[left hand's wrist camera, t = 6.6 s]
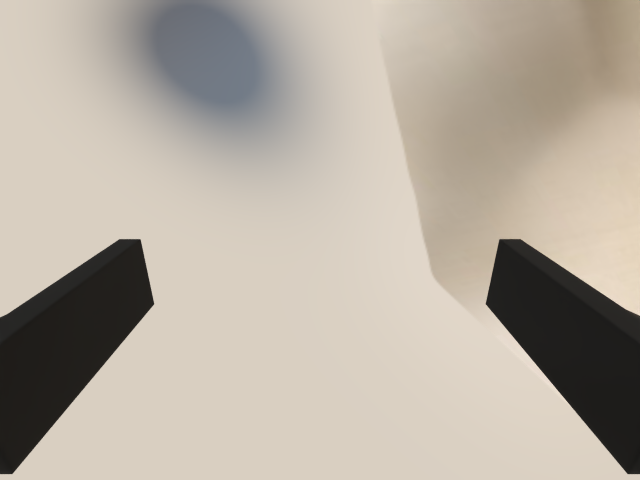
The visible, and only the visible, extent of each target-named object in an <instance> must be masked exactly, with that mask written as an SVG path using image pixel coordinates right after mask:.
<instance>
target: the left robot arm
mask: <svg viewBox="0 0 640 480" xmlns="http://www.w3.org/2000/svg"><path fill="white" fill-rule="evenodd" d="M153 305H154V301H153V296H152V291H151V287H150V282H149V277H148V273H147V268H146V263H145V258H144V254H143V249H142V244H141V240H140V239H119V240H118V241H116V242H115V243H113V244H112V245H110V246H109V247H107V248H106V249H104V250H103V251H101V252H100V253H98V254H97V255H95V256H94V257H92V258H91V259H89V260H88V261H86V262H85V263H83V264H82V265H80V266H79V267H77V268H76V269H74V270H73V271H71V272H70V273H68V274H67V275H65V276H64V277H62V278H61V279H59V280H58V281H56V282H55V283H53V284H52V285H50V286H49V287H47V288H46V289H44V290H43V291H41V292H40V293H38V294H37V295H35V296H34V297H32V298H31V299H29V300H28V301H26V302H25V303H23V304H22V305H20V306H19V307H17V308H16V309H14V310H13V311H11V312H10V313H8V314H7V315H5V316H2V317H0V474H13V473H14V471H15V470H16V469H17V468H18V467H19V465H20V464H21V463H22V462H23V461H24V459H25V458H26V457H27V456H28V455H29V453H30V452H31V451H32V450H33V449H34V447H35V446H36V445H37V444H38V443H39V441H40V440H41V439H42V438H43V437H44V435H45V434H46V433H47V432H48V431H49V429H50V428H51V427H52V426H53V425H54V423H55V422H56V421H57V420H58V419H59V417H60V416H61V415H62V414H63V413H64V411H65V410H66V409H67V408H68V407H69V405H70V404H71V403H72V402H73V401H74V400H75V398H76V397H77V396H78V395H79V394H80V392H81V391H82V390H83V389H84V388H85V386H86V385H87V384H88V383H89V382H90V380H91V379H92V378H93V377H94V376H95V374H96V373H97V372H98V371H99V370H100V368H101V367H102V366H103V365H104V364H105V362H106V361H107V360H108V359H109V358H110V356H111V355H112V354H113V353H114V352H115V350H116V349H117V348H118V347H119V346H120V344H121V343H122V342H123V341H124V340H125V338H126V337H127V336H128V335H129V334H130V332H131V331H132V330H133V329H134V328H135V326H136V325H137V324H138V323H139V322H140V320H141V319H142V318H143V317H144V316H145V314H146V313H147V312H148V311H149V310H150V308H151V307H152V306H153ZM486 305H487V306H488V307H489V308H490V310H491V311H492V312H493V313H494V314H495V316H496V317H497V318H498V319H499V320H500V322H501V323H502V324H503V325H504V326H505V328H506V329H507V330H508V331H509V332H510V334H511V335H512V336H513V337H514V338H515V340H516V341H517V342H518V343H519V344H520V346H521V347H522V348H523V349H524V350H525V352H526V353H527V354H528V355H529V356H530V358H531V359H532V360H533V361H534V362H535V364H536V365H537V366H538V367H539V368H540V370H541V371H542V372H543V373H544V374H545V376H546V377H547V378H548V379H549V380H550V382H551V383H552V384H553V385H554V386H555V388H556V389H557V390H558V391H559V392H560V394H561V395H562V396H563V397H564V398H565V400H566V401H567V402H568V403H569V404H570V405H571V407H572V408H573V409H574V410H575V411H576V413H577V414H578V415H579V416H580V417H581V419H582V420H583V421H584V422H585V423H586V425H587V426H588V427H589V428H590V429H591V431H592V432H593V433H594V434H595V435H596V437H597V438H598V439H599V440H600V441H601V443H602V444H603V445H604V446H605V447H606V449H607V450H608V451H609V452H610V453H611V455H612V456H613V457H614V458H615V459H616V461H617V462H618V463H619V464H620V465H621V467H622V468H623V469H624V470H625V471H626V473H627V474H640V316H639V315H637V314H634V313H632V312H630V311H628V310H626V309H624V308H623V307H621V306H620V305H618V304H617V303H615V302H614V301H612V300H611V299H609V298H608V297H606V296H605V295H603V294H602V293H600V292H599V291H597V290H596V289H594V288H593V287H591V286H590V285H588V284H587V283H585V282H584V281H582V280H581V279H579V278H578V277H576V276H575V275H573V274H572V273H570V272H569V271H567V270H566V269H564V268H563V267H561V266H560V265H558V264H557V263H555V262H554V261H552V260H551V259H549V258H548V257H546V256H545V255H543V254H542V253H540V252H539V251H537V250H536V249H534V248H533V247H531V246H530V245H528V244H527V243H525V242H524V241H522V240H521V239H499V244H498V249H497V253H496V258H495V263H494V268H493V272H492V277H491V282H490V287H489V291H488V296H487V301H486Z"/></svg>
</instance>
